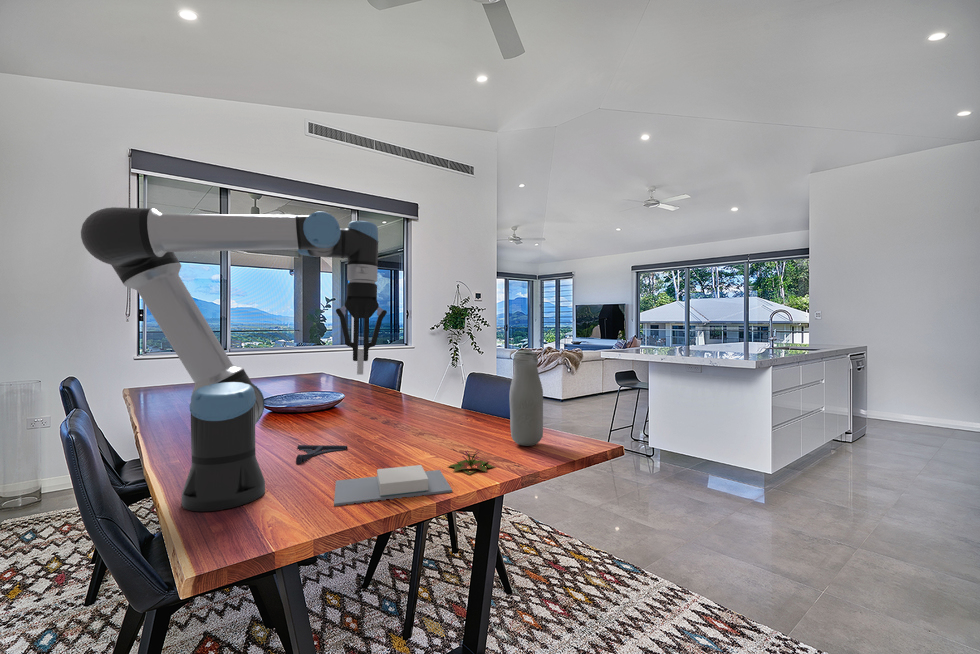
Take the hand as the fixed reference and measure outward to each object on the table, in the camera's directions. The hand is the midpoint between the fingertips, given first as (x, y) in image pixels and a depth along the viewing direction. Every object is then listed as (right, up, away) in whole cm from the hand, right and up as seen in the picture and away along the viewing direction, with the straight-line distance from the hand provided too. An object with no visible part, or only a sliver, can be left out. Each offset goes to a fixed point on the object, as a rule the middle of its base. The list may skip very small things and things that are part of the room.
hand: (360, 373), depth 119 cm
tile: (+13, -21, -13) cm, 28 cm away
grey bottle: (+44, -23, +17) cm, 53 cm away
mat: (+12, -23, -17) cm, 31 cm away
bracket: (-16, -24, +8) cm, 30 cm away
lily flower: (+29, -24, -3) cm, 38 cm away
